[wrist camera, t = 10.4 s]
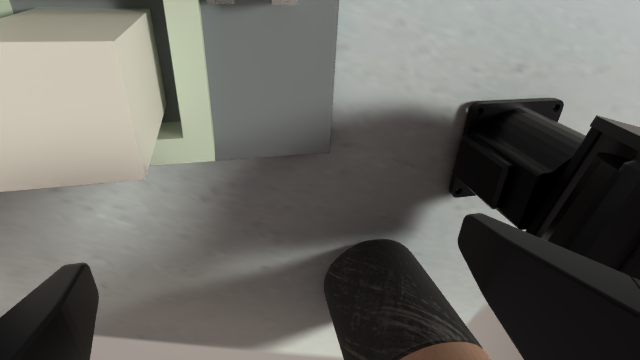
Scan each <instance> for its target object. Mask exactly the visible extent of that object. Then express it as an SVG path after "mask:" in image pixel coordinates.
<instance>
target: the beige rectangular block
mask: <svg viewBox="0 0 640 360" xmlns="http://www.w3.org/2000/svg"><path fill="white" fill-rule="evenodd" d="M165 108H166V98H165V92H164V87H163V81H162V75H161V69H160V63H159V57H158V52H157V46H156V40H155V34H154V28H153V23H152V17H151V11H150V9H130V8H47V7H37V8H33V9H30V10H27V11H23V12H20V13H17V14H13V15H10V16H7V17H3V18H0V192H7V191H19V190H30V189H42V188H54V187H66V186H77V185H89V184H101V183H112V182H124V181H136V180H145V179H146V175H147V172H148V168H149V165H150V161H151V158H152V154H153V150H154V147H155V143H156V140H157V136H158V133H159V129H160V126H161V122H162V119H163V115H164V111H165Z"/></svg>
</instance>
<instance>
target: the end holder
mask: <svg viewBox="0 0 640 360" xmlns="http://www.w3.org/2000/svg"><path fill="white" fill-rule="evenodd" d="M163 4H164V10H165V17H166V24H167V30H168V37H169V44H170V51H171V57H172V64H173V71H174V78H175V84H176V91H177V98H178V104H179V111H180V118H181V121H180V122H161V126H160V129H159V133H158V136H157V140H156V143H155V147H154V150H153V154H152V158H151V161H150V165H149V166H153V165H166V164H180V163H194V162H208V161H215V144H214V134H213V124H212V115H211V105H210V96H209V86H208V76H207V67H206V57H205V48H204V38H203V29H202V19H201V10H200V0H163ZM13 14H14V13H13V10H12V7H11V4H10V1H9V0H0V18H3V17H7V16H10V15H13Z"/></svg>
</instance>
